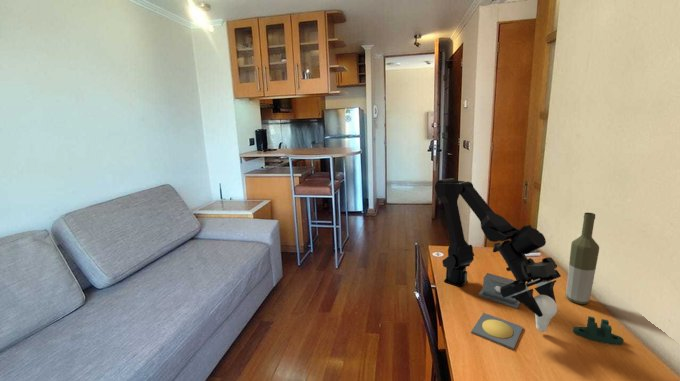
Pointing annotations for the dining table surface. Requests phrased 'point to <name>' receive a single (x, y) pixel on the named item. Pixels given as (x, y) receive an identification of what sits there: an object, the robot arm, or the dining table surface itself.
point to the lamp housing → (497, 290)
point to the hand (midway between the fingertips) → (548, 313)
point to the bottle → (582, 263)
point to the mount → (598, 332)
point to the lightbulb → (545, 311)
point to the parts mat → (497, 330)
